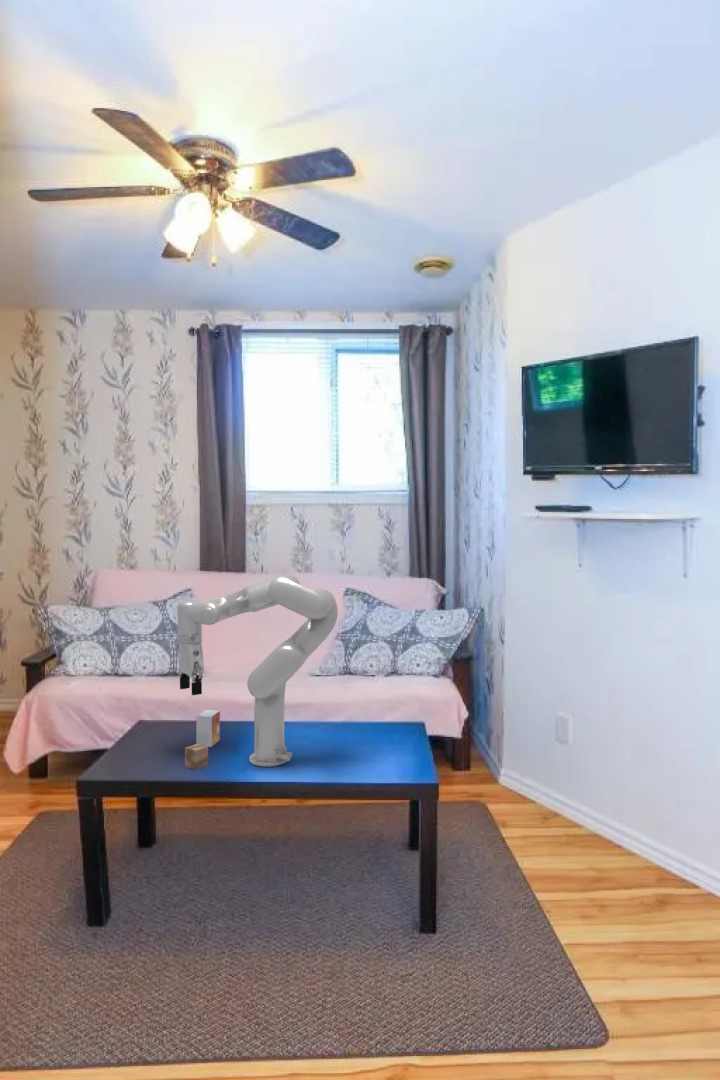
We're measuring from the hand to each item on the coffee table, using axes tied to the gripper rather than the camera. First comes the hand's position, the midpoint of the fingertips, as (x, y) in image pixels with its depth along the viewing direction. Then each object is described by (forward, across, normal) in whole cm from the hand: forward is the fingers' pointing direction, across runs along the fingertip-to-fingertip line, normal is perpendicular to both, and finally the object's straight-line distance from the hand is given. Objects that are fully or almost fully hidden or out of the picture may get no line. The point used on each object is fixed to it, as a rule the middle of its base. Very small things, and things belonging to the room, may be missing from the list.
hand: (190, 691), depth 217 cm
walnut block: (+21, -9, +2) cm, 23 cm away
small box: (+22, +9, -10) cm, 25 cm away
